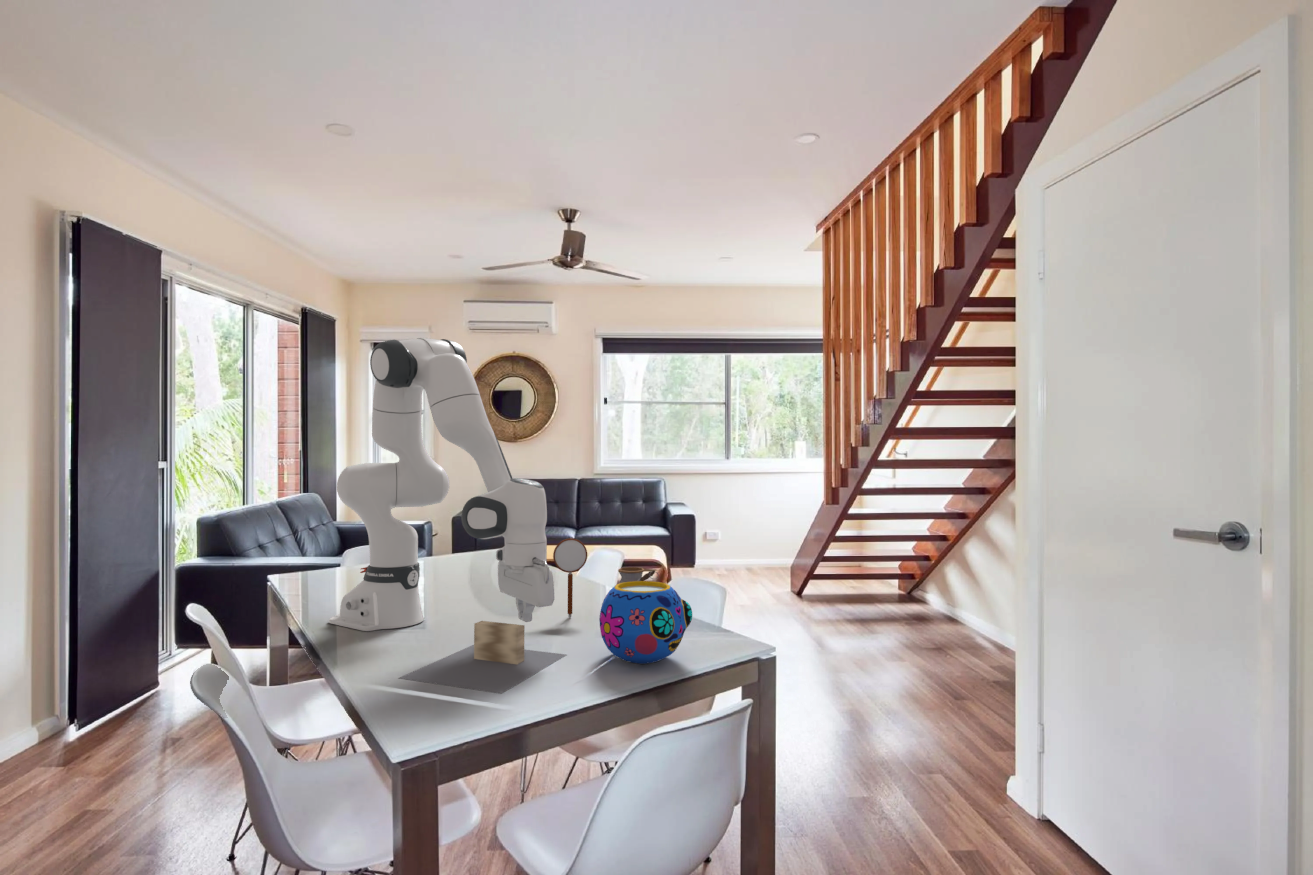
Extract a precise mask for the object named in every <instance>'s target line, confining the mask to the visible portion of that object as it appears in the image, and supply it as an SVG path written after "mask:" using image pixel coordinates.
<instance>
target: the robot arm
mask: <svg viewBox="0 0 1313 875" xmlns="http://www.w3.org/2000/svg"><path fill="white" fill-rule="evenodd" d="M369 362H370V370H371V374H372V375H373V377H374V379H375V384H374V388H373V397H372V398H373V399H372V420H371V422H372V423H371V428H372V429H371V435H372V436H371V437H372V438H373V441H374V442H375V444H376V445H378V446H379V448H382V449H383V450H386V451H388V452H391V453H392V454H394V455H395V456H397V457H398V458H399V459H398V461H397V462H365V463H360V464H353V465H348V466H346V467H345V468H344V469H343V470H342V471H341V472H340V474H339V475H338V478H337V480H336V491H337V495H338V497H339V498H340V501H341V502H342V503H343V504H344V505H345V506H347V508H350V509H351V510H353V511H354V512H355V513H356V514H357V515H358V516H359V518H360V519H361V521H362V522H363V524H364V526H365V528H366V532H367V535H368V536H367V537H368V548H369V564H368V565H367V566H366V567H361V568H360V572H359V573H360V574H363V573H364V575H363V578H362V581H361V582H359V583H358V584H357V585H356V586H355V587H353V588H352V589H350V591H348V592H347V593H346V594H345V595H343V597H342V599H341V602H340V608H339V613H338V614H336V615H333V616H332V617H330V618H329V619H328V623H329V624H331V625H336V626H341V627H344V628H345V627H346V628H349V629H354V630H358V631H363V632H369V631H370V632H372V631H378V630H389V629H390V630H391V629H399V628H405V627H409V626H410V627H411V626H413V625H417V624H420V623H422V622H424V620H425V617H424V613H423V610H422V604H421V599H420V593H419V592H420V591H419V580H420V569H421V568H420V562H419V557H418V555H419V549H418V548H419V535H418V532H417V530H416V529H415V528H414V527H413V526H412V525H410V524H408V523H406V522H404V521H402V520H401V519H400V520H399V519H397V518H396V517H394V516H393V514H392V510H393V509H395V508H415V507H417V508H418V507H421V508H423V507H426V506H431V505H432V506H433V505H436V504H440V503H442V502H443V501H444V500H445V498H446V497H447V495H448V493H449V491H450V490H449V489H450V478H449V475H448V473H447V471H446V470H445V469H444V467H443V466H442V465H440V464H439V463H437V462H436V461H435V460H434V459H433V458H432V457H431V455H430V454H429V453H428V451H427V449H426V447H425V444H424V440H423V433H422V429H423V428H422V427H423V426H422V414H423V413H422V409H423V408H422V407H423V406H422V405H423V391H425V394H426V397H427V401H428V404H429V405H428V406H429V409H430V412H431V413H430V414H431V416H432V420H433V422H434V425H435V427H436V428H437V431H438V432H439V434H440V436H441V437H443V439H445V440H446V441H447V442H449V443H451V444H453V445H455V446H458V447H459V448H460V449H462V450H464V452H466V453H467V454H468V455H470V456H471V458H473V460H474V461H475V463H476V465H477V468H478V470H479V472H480V475H481V478H482V479H483V482H484V486H485V488H486V491H487V492H485V493H481V494H478V495H476V496H474V497H471V498H470V499H468V500H467V501H466V502H465V504H463V507H462V511H461V524H462V527H463V528H464V530H465V532H466V533H467V534H468V535H469V536H470V537H472V538H475V539H478V540H479V539H480V540H489V539H493V538H500V537H503V539H504V546H502V547H501V548H499V549H498V550H496V552H495V554H496V555H495V558H496V560H497V561H498V563H497V584H498V585H497V586H498V588H499V591H500V593H503V594H505V595H507V596H509V597H512V598H515V604H516V608H517V612H518V620H520V621H522V622H524V623H529V622H532V621H533V613H534V610H535V607H537V608H544V607H550V606H553V604H554V602H555V584H554V583H555V581H554V575H553V571H552V570H551V568H550V566H548V562H547V554H548V552H547V551H548V550H547V548H548V544H547V543H548V542H547V541H548V540H547V534H546V525H547V522H548V510H547V509H548V508H547V505H548V504H547V494H546V490H545V488H544V486H543V485H542V484H541V483H540V482H538V481H536V480H532V479H526V478H517V477H516V478H514V477H513V475H512V473H511V471H510V468H509V465H508V463H507V462H508V461H507V460H506V457H505V454H504V453H503V449H502V447H501V444H500V442H499V441H498V437H497V436H496V434H495V432H494V429H493V428H492V425H491V423H490V421H489V418H488V415H487V412H486V410H485V406H484V404H483V400H482V397H481V393H480V391H479V387H478V385H477V382H476V379H475V377H474V374H473V372H472V371H471V369H470V367H469V365H468V359H467V355H466V352H465V350H464V348H463V346H462V345H460V344H459V343H458V342H457V341H454V340H450V339H446V338H445V339H444V338H442V339H436V338H428V337H426V338H424V337H423V338H422V337H418V338H409V339H398V340H397V339H389V340H385V341H381V342H379V343H378V344H376V345H375V346H374V348H373V350H372V352H371V355H370V358H369ZM361 570H362V571H361Z"/></svg>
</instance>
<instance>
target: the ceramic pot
mask: <svg viewBox="0 0 1313 875" xmlns="http://www.w3.org/2000/svg"><path fill="white" fill-rule="evenodd" d="M602 601H603V602H602V603H601V607H600V612H599V620H598V621H599V628H600V629H599V630H600V635H601V638H602V640H603V643H604V645H605V646H606V648H607V650H608V651H609V652H610V653H611V654H613V656H615V657H617V658H619V659H621V660H622V661H626V662H628V663H633V664H640V665H644V664H652V663H656V662H658V661H662V660H664V659H666V658H668V657H669V656H671V655H672V654H674V653H675V652H676V650H678V649H677V648H678V647H679V646H680V644H681V642H682V639H683V636H684V634H685V632H686V629H687V628H688V627H689V626H690V625H691V622H692V620H693V610H692V607H691V605H690V604H689V603H688V602H687V601H686V600H684V599H682V597H681V596H680V595H679V594H678V592H677V591H676V590H675V589H674V588H673V587H672V586H671V585H669V584H667V583H665V582H660V581H653V580H652V581H651V580H644V581H632V582H624V583H617V584H615V585H614V586H613V587H612V588H611V589H609V591H608V592H607V594H606V595H605V597H604V599H603V600H602Z"/></svg>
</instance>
